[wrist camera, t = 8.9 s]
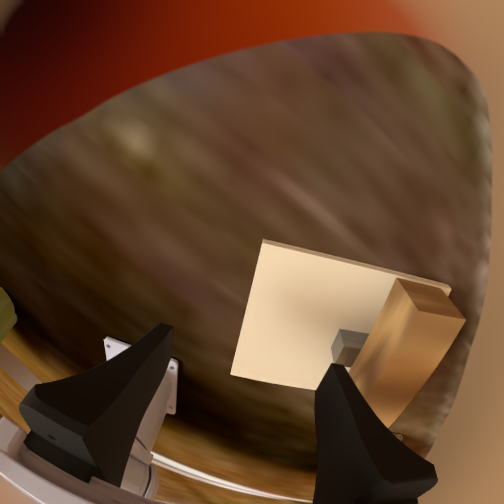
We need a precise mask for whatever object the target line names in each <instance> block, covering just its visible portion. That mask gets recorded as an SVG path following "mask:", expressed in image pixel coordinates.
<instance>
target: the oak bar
mask: <svg viewBox="0 0 504 504" xmlns="http://www.w3.org/2000/svg"><path fill="white" fill-rule="evenodd" d="M465 321H466V319H465V318H464V317H463V315H462V314H461V313H460V311H459V310H458V309H457V308H456V306H455V305H454V304H453V303H452V302H451V300H450V299H449V298H448V297H447V295H446V294H445V293H444V292H443V291H442V289H441V288H437V287H433V286H429V285H425V284H421V283H417V282H413V281H409V280H405V279H401V278H397V277H396V279H395V281H394V284H393V286H392V288H391V290H390V293H389V295H388V297H387V299H386V301H385V304H384V306H383V308H382V310H381V312H380V314H379V316H378V318H377V320H376V322H375V324H374V326H373V328H372V330H371V332H370V334H369V336H368V338H367V340H366V342H365V344H364V345H363V347H362V349H361V351H360V353H359V355H358V356H357V358H356V360H355V362H354V364H353V365H352V367H351V369H350V371H349V372H348V373H349V375H350V376H351V378H352V380H353V381H354V383H355V384H356V386H357V388H358V389H359V391H360V392H361V394H362V395H363V397H364V398H365V400H366V401H367V403H368V404H369V406H370V407H371V408H372V410H373V411H374V412H375V414H376V415H377V416H378V418H379V419H380V420H381V421H382V422H383V424H384V425H385V426H386V427H387V428H388V427H389V426H390V425H391V424H392V423H393V422H394V421H395V420H396V418H397V417H398V416H399V415H400V414H401V413H402V411H403V410H404V409H405V408H406V407H407V405H408V404H409V403H410V402H411V401H412V399H413V398H414V397H415V396H416V394H417V393H418V392H419V390H420V389H421V388H422V386H423V385H424V384H425V382H426V381H427V380H428V378H429V377H430V376H431V374H432V373H433V371H434V370H435V368H436V367H437V366H438V364H439V363H440V361H441V360H442V358H443V357H444V355H445V354H446V352H447V351H448V349H449V347H450V346H451V344H452V343H453V341H454V339H455V338H456V336H457V334H458V333H459V331H460V329H461V328H462V326H463V324H464V322H465Z"/></svg>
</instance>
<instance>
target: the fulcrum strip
mask: <svg viewBox="0 0 504 504" xmlns="http://www.w3.org/2000/svg"><path fill="white" fill-rule="evenodd" d="M368 336H369V334H368V333H362V332H356V331H350V330H344V329H339V331H338V333H337V335H336V337H335V340H334V342H333V344H332V346H331V351H332V357H333V363H336V364H342V365H344V367H349V368H351V367H352V365H353V364H354V362H355V360H356V358H357V356H358V355H359V353H360V351H361V349H362V347H363V345H364V344H365V342H366V340H367V338H368Z"/></svg>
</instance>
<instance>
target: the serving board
mask: <svg viewBox="0 0 504 504" xmlns="http://www.w3.org/2000/svg"><path fill="white" fill-rule="evenodd" d="M396 277H397V278H401V279H405V280H409V281H413V282H417V283H421V284H425V285H429V286H433V287H437V288H441V289H442V291H443V292H444V293H445V294H446V295H447V297H448V296H449V294H450V292H451V288H450V287H449V285H448V284H444V283H440V282H436V281H433V280H429V279H425V278H421V277H417V276H413V275H409V274H405V273H401V272H397V271H394V270H390V269H386V268H382V267H378V266H374V265H370V264H366V263H362V262H357V261H353V260H349V259H345V258H341V257H337V256H333V255H329V254H325V253H321V252H317V251H312V250H308V249H304V248H300V247H296V246H291V245H287V244H283V243H279V242H274V241H270V240H266V239H263V242H262V246H261V250H260V254H259V259H258V263H257V267H256V271H255V275H254V279H253V283H252V288H251V292H250V296H249V300H248V304H247V308H246V312H245V316H244V320H243V325H242V329H241V333H240V337H239V341H238V345H237V349H236V353H235V357H234V361H233V365H232V369H231V375H235V376H240V377H244V378H249V379H254V380H259V381H264V382H269V383H275V384H280V385H286V386H292V387H299V388H305V389H312V390H316V389H317V387H318V386H319V384H320V382H321V380H322V379H323V377H324V375H325V373H326V371H327V370H328V368H329V366H330V364H331V363H333V357H332V351H331V346H332V344H333V342H334V340H335V337H336V335H337V333H338V331H339V329H344V330H350V331H356V332H362V333H368V334H370V332H371V330H372V328H373V326H374V324H375V322H376V320H377V318H378V316H379V314H380V312H381V310H382V308H383V306H384V304H385V301H386V299H387V297H388V295H389V293H390V290H391V288H392V286H393V284H394V281H395V279H396ZM345 368H346V370H347V371H348V372H349V371H350V369H351V368H349V367H345Z"/></svg>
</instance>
